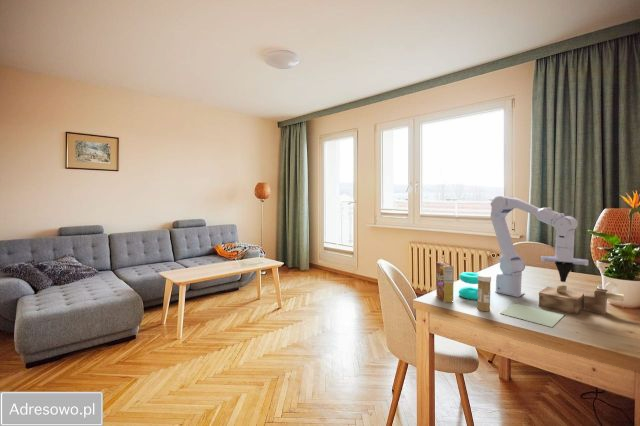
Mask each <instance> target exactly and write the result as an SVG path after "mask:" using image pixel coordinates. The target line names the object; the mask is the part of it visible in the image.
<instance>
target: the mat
mask: <svg viewBox="0 0 640 426" xmlns="http://www.w3.org/2000/svg"><path fill="white" fill-rule="evenodd" d="M499 314H500V315H502V314H504V315H503V316H506V315H507V316H508V317H510V316H511V318H514V317H515V318H514V319H518V318H519V319H518V320H521V319H523V320H522V321H525V320H526V322H529V321H530V322H529V323H533V322H534V323H533V324H537V325H540V324H541V325H540V326H544V327H549V328H553V327H554V326H556V325H557V323H558V322H560V320H562V318H564V317H565V314H562V313H558V312H553V311H549V310H545V309H542V308H536V307H533V306H532V307H531V306H528V305H524V304H520V303H514V304H512V305H511V306H509V307H508V308H506V309H504V310H503V311H502V312H500V313H499ZM507 316H506V317H507Z"/></svg>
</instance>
